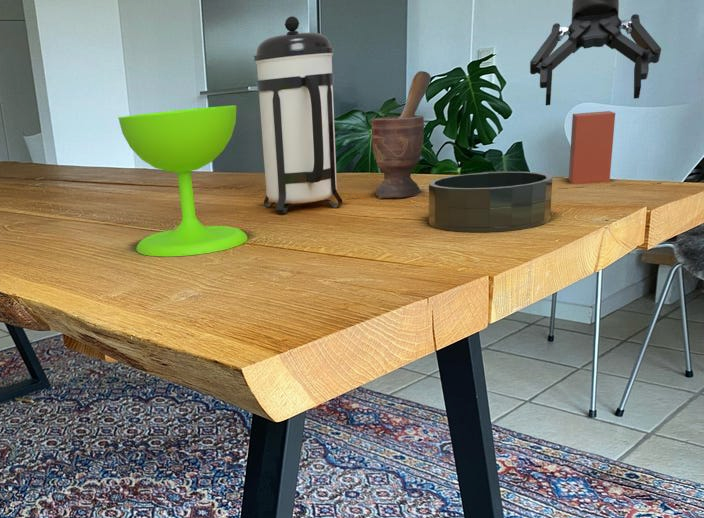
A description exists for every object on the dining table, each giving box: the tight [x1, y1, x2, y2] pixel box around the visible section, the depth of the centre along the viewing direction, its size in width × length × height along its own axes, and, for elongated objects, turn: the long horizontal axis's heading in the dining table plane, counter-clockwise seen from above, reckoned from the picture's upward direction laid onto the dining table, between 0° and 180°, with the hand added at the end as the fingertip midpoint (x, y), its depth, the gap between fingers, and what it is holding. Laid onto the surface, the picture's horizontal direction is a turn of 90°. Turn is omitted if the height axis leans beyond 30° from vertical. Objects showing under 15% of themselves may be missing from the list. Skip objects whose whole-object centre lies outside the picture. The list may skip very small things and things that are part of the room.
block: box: [568, 110, 616, 185], centre depth 120 cm, size 6×6×11 cm
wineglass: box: [117, 105, 248, 257], centre depth 102 cm, size 16×16×18 cm
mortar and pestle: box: [370, 70, 432, 200], centre depth 126 cm, size 12×9×20 cm
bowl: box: [428, 171, 553, 233], centre depth 99 cm, size 15×16×6 cm
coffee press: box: [253, 15, 344, 215], centre depth 120 cm, size 17×16×30 cm
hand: (591, 96), depth 125 cm, fingers open, 13 cm apart
